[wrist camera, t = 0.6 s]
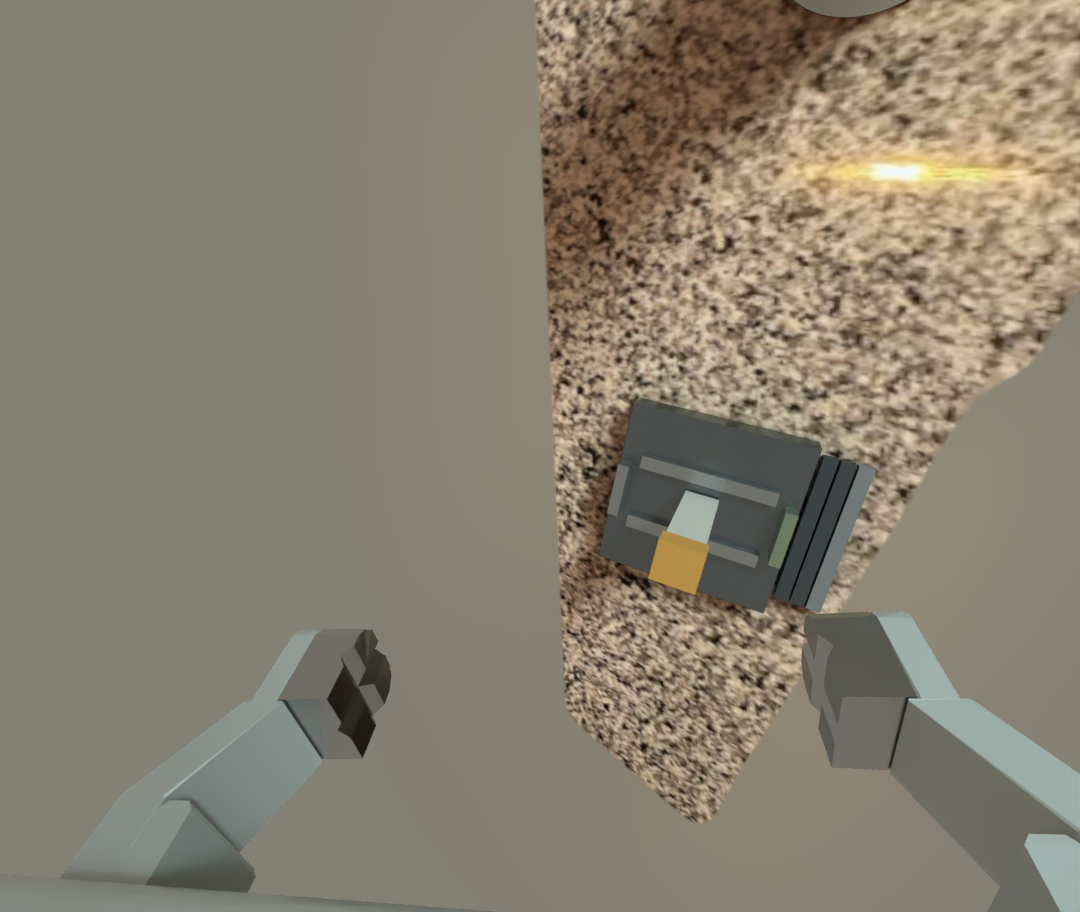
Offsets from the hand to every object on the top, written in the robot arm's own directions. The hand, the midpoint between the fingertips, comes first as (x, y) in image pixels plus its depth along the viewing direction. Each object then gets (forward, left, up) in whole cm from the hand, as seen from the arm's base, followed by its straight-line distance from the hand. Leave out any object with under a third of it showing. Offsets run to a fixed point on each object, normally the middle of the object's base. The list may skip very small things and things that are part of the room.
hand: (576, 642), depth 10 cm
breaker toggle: (+12, 0, -40) cm, 42 cm away
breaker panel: (+12, 0, -43) cm, 45 cm away
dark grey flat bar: (+12, +11, -43) cm, 46 cm away
